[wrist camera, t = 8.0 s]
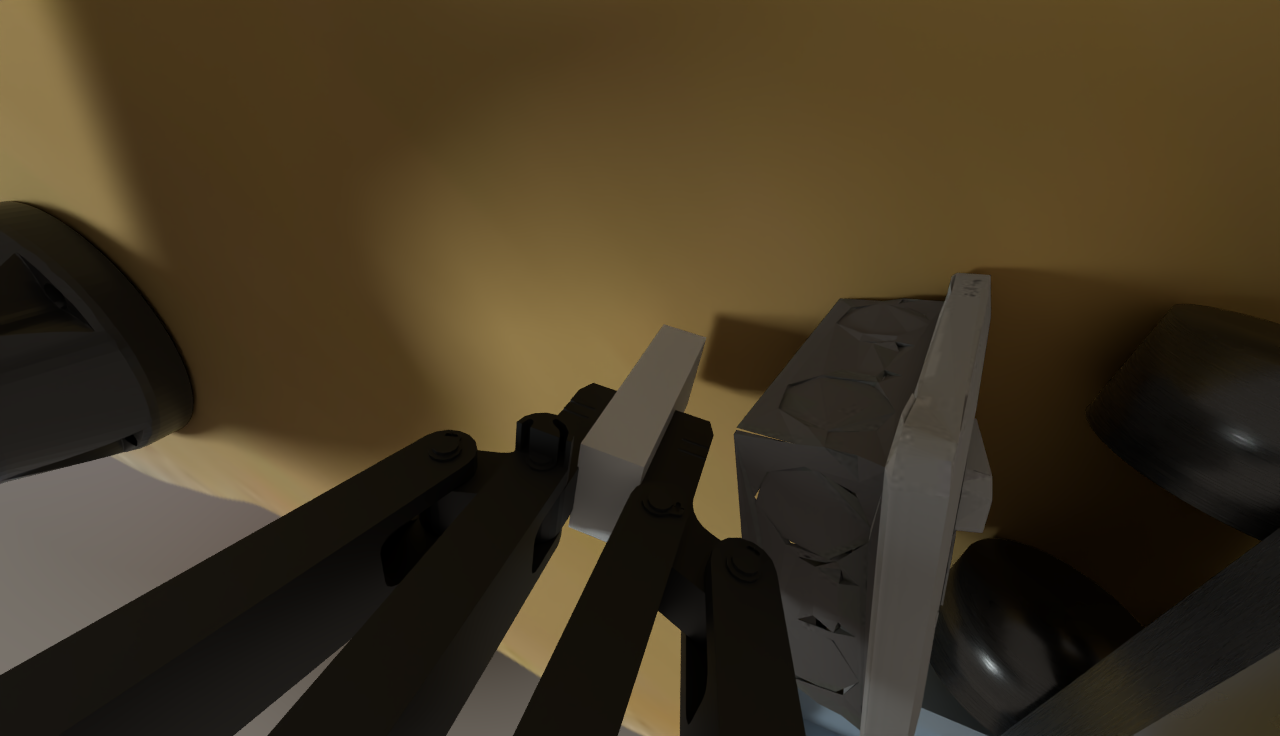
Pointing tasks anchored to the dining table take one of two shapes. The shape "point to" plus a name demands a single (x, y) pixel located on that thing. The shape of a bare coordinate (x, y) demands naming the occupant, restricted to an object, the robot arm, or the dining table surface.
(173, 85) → the dining table surface
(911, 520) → the electrical switch
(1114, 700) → the trolley
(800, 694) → the tray
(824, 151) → the dining table surface
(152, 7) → the dining table surface
